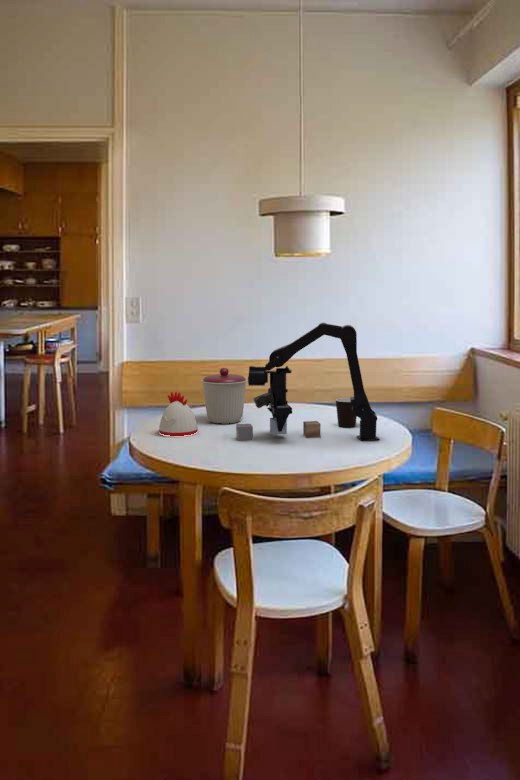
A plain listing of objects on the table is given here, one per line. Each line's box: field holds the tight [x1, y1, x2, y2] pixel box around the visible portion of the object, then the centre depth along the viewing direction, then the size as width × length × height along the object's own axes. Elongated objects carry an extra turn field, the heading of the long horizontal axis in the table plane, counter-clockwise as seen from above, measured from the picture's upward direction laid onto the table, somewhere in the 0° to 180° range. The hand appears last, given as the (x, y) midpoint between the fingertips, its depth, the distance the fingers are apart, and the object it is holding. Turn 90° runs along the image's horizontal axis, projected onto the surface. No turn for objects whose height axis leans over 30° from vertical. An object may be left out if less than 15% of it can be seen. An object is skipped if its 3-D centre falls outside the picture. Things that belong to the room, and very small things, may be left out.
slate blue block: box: [269, 417, 288, 436], centre depth 258 cm, size 5×5×5 cm
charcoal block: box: [235, 423, 254, 442], centre depth 256 cm, size 5×5×5 cm
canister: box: [200, 367, 248, 425], centre depth 286 cm, size 18×18×21 cm
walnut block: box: [302, 420, 321, 439], centre depth 260 cm, size 5×5×5 cm
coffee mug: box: [335, 397, 358, 429], centre depth 277 cm, size 12×9×10 cm
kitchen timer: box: [158, 391, 199, 436], centre depth 266 cm, size 14×14×15 cm
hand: (278, 429), depth 258 cm, fingers closed on slate blue block, 5 cm apart
